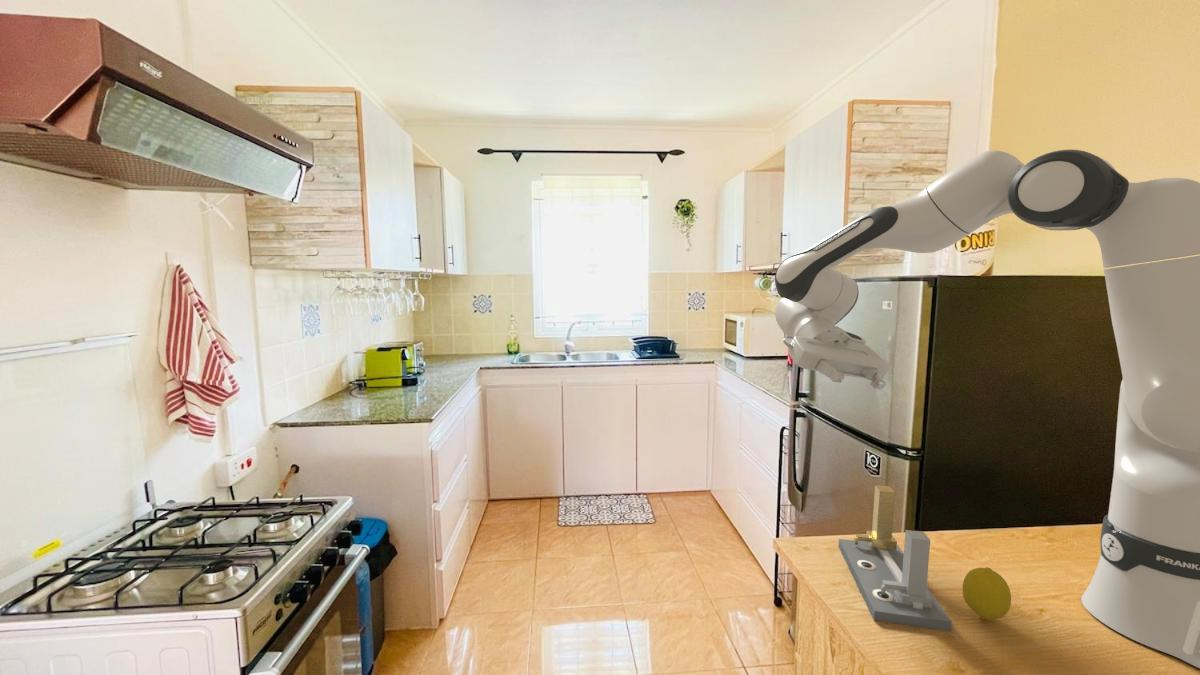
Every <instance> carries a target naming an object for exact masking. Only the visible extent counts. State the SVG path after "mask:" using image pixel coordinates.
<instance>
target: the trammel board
mask: <svg viewBox="0 0 1200 675" xmlns="http://www.w3.org/2000/svg"><path fill="white" fill-rule="evenodd" d="M903 544H904V548H903V550H902V549H901V547H900V546H899V545H898V544H897V549H896V550H894V549H885V548H876V547H871V545H870V544H869V542H864V541H858V545H856V544H854V540H852V539H851V540H850V539H845V538H844V539H842V538H838V549H839V550H840V552H841V555H842V557H843V559H844V560H845V564H846V565H847V567H848V569H849V572H850V573H851V575H852V577H853V580H854V582H855V584H856V586H857V587H858V590H859V593H860V594H861V596H862V598H863V600H864V603H865V605H866V607H867V609H868V611H869V614H870V615H871V616H872V619H873V621H877V622H885V623H890V624H899V625H906V626H912V627H919V628H926V629H933V630H940V631H945V632H946V631H947V632H951V631H952V624H953V622H952V620H951V619H950V617H949V616H948V614H947V613H946V612H945V610H944V609H943V607H942V605H941V604H940V603H939V601H938V600H937V599H936V597H935V596H934V594H933V593H932V592H931V590H930V589H929V587H928V586H927V585H928V573H929V562H930V549H931V539H930V538H929V537H928V535H927V534H926V533H925V532H924V531H921V530H909V529H905V532H904V543H903Z"/></svg>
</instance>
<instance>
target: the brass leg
mask: <svg viewBox="0 0 1200 675" xmlns="http://www.w3.org/2000/svg"><path fill="white" fill-rule="evenodd" d="M895 493H896V492H895V491H894V489H893V488H892V487H891V486H889V485H878V484H877V485H874V494H873V495H874V496H873V498H874V499H873V510H872V513H873V514H872V527H871V528H872V529H871V530H866V534H860V533H855V536H854V544H856V545H858V541H863V542H869V544H870V545H871V547H876V548H885V549H894V550H896V549H897V545H898V541H897V540H896V538H895V537H894V536H893V523H894V522H893V521H894V508H895V497H896V496H895Z"/></svg>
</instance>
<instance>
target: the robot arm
mask: <svg viewBox="0 0 1200 675" xmlns="http://www.w3.org/2000/svg"><path fill="white" fill-rule="evenodd" d="M1009 214H1014V215H1015V216H1016V217H1017V218H1018V219H1019V220H1021V221H1023V222H1025V223H1027V224H1029V225H1033V226H1035V227H1037V228H1039V229H1043V230H1048V231H1058V232H1059V231H1061V232H1062V231H1076V230H1081V229H1087V230H1088V231H1090V232H1091V233H1093V235H1094V236H1095V237H1096V240H1097V241H1098V243H1099V247H1100V252H1101V257H1102V266H1103V273H1104V279H1105V286H1106V291H1107V292H1106V293H1107V297H1108V298H1107V300H1108V305H1109V311H1110V318H1111V324H1112V330H1113V334H1114V339H1115V343H1116V348H1117V355H1118V359H1119V365H1120V370H1121V375H1122V376H1121V377H1122V380H1121V383H1120V386H1119V396H1118V409H1117V421H1116V432H1115V433H1116V434H1115V449H1114V464H1113V474H1112V482H1111V491H1110V498H1109V505H1108V506H1109V507H1108V513H1107V514H1106V515H1105V516H1103V519H1102V526H1101V532H1100V538H1099V539H1100V544H1099V545H1100V556H1099V560H1098V563H1097V566H1096V569H1095V572H1094V573H1093V576H1092V578H1091V580H1090V582H1089V585H1088V586H1087V588H1086V590H1085V591H1084V592H1083V594H1082V595H1081V603H1082V605H1083V607H1084V608H1085V609H1086V610H1087V611H1088V612H1089V613H1090V614H1091V615H1092V616H1093V617H1094V618H1095V619H1097V620H1099V621H1100V622H1101V623H1103V624H1104V625H1106V626H1107V627H1109V628H1111V629H1112V630H1113V631H1115V632H1117V633H1119V634H1121V635H1122V636H1125V637H1127V638H1129V639H1131V640H1133V641H1136V642H1137V643H1140V644H1142V645H1145V646H1147V647H1149V648H1151V649H1154V650H1156V651H1160V652H1163V653H1165V654H1168V655H1170V656H1173V657H1175V658H1178V659H1180V660H1181V661H1184V662H1185V663H1188V664H1189V665H1192V666H1194V667H1196V668H1198V669H1200V182H1199V181H1197V180H1194V179H1190V178H1184V177H1183V178H1182V177H1164V178H1158V179H1157V178H1155V179H1151V180H1147V181H1140V182H1130V181H1129V180H1128V178H1126V177H1125V176H1123V174H1121V173H1119V172H1118V171H1117V169H1116V168H1115V167H1114V165H1112V164H1111V163H1110V162H1109V161H1107V160H1106V159H1104V158H1102V157H1100V156H1098V155H1095V154H1094V153H1091V152H1089V151H1085V150H1080V149H1061V150H1054V151H1051V152H1047V153H1045V154H1042V155H1040V156H1037V157H1035V158H1033V159H1032V160H1030V161H1029V162H1027V163H1026V164H1024V163H1022V162H1021V161H1020V160H1019V159H1018V158H1017V157H1015V155H1013V154H1010V153H1009V152H1005V151H1001V150H995V149H994V150H992V149H991V150H987V151H984V152H982V153H979V154H977V155H976V156H974V157H972V158H969V159H968V160H966V161H964V162H962V163H961V164H959V165H957V166H956V167H954V168H952V169H951V170H949V171H948V172H946V173H945V174H943V175H942V176H940V177H939V178H937V179H936V180H934V181H933V182H931V183H930V184H929V185H928V186H926V187H925V188H923V189H922V190H920V191H919V192H917V193H915V194H914V195H912V196H910V197H908V198H907V199H904V200H902V201H899V202H897V203H894V204H891V205H889V206H880V207H877V208H874V209H872V210H870V211H868V212H866V213H865V214H862V215H861V216H859V217H857V218H856V219H854V220H853V221H851V222H849V223H847V224H846V225H844V226H842V227H840V228H839V229H838V230H836V231H834V232H833V233H831V234H830V235H828V236H827V237H825V238H823V239H821V240H820V241H818V242H817V243H815V244H813V245H811V246H809V247H808V248H806V249H803V250H801V251H798V252H796V253H794V254H792V255H790V256H789V257H786V258H785V259H784V260H783V261H782V262H780V264H779V265H778V267H777V269H776V271H775V276H774V284H775V289H776V291H777V294H778V295H779V297H781V298H780V300H779V301H778V302H777V304H776V307H775V310H774V316H775V321H776V323H777V325H778V327H779V328H780V329H781V331H782V332H783V334H784V335H785V336H786V337H783V338H782V343H784V345H785V346H786V347H787V353H788V355H789V357H790V358H791V360H792V361H793V363H794V364H795V366H797V367H799V368H801V369H802V370H803V369H804V370H810V371H816V372H819V373H820V374H821V375H824V376H826V377H828V378H829V380H831V381H832V382H833V383H837V384H838V383H839V384H840V383H842V382H843V380H844V379H845V377H850V378H857V379H863V380H868V381H871V382H870V383H869V385H870V386H872V387H873V389H876V390H881V391H882V390H883V389H884V388H885V387H886V384H887V382H886V381H885V380H884V378H885V377H886V375H887V374H888V372H889V370H890V365H889V363H888V362H887V361H886V360H885V359H884V358H883V357H882V356H881V355H880V354H879V353H877V351H876V350H874V349H873V348H871V347H870V346H869V345H866V343H867V340H866V339H865V338H863V337H862V336H859V335H857V334H854V333H851V332H849V331H846V330H844V329H842V328H841V327H840V326H837V324H839V322H840V321H842V320H843V319H844V318H845V317H846V316H847V315H848V314H850V312H851V311H852V310H853V309H854V307H855V305H856V304H857V301H858V298H859V291H860V290H859V286H858V283H857V281H856V280H855V279H854V278H852V277H851V276H848V275H846V274H844V273H843V272H841V271H839V270H837V269H835V267H837V266H838V265H839V264H842V263H843V262H845V261H847V260H848V259H850V258H852V257H853V256H855V255H857V254H859V253H861V252H865V251H867V250H868V251H869V250H873V249H888V250H889V249H890V250H891V249H892V250H900V251H906V252H910V253H916V254H930V253H932V254H933V253H936V252H938V251H941V250H943V249H946V248H949V247H950V246H952V245H954V244H956V243H958V242H960V241H961V240H962V239H965V237H967V236H969V235H970V234H971V233H973V232H975V231H977V230H978V229H980V228H981V227H984V225H986V224H987V223H989V222H991V221H992V220H994V219H996V218H999V217H1001V216H1005V215H1009Z"/></svg>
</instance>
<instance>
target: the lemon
mask: <svg viewBox="0 0 1200 675" xmlns="http://www.w3.org/2000/svg"><path fill="white" fill-rule="evenodd" d="M1011 594H1012V593H1011V589H1010V587H1009V585H1008V583H1007V581H1006V580H1005V579H1004V577H1003V576H1002V575H1001V574H999V573H998V572H996V571H995V570H993V569H992V568H990V567H975V568H973V569H971V570H969V571H968V572H967V574H966V575H965V576H964V579H963V582H962V595H963V599H964V602H965V603H966V605H967V606H968V607H969V609H970V610H971V611H973V613H975V614H976V615H977V616H979V617H980V618H981V619H983V620H998V619H1002V618H1004V617H1005V615H1007V614H1008V612H1010V609H1011V604H1012V595H1011Z"/></svg>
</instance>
